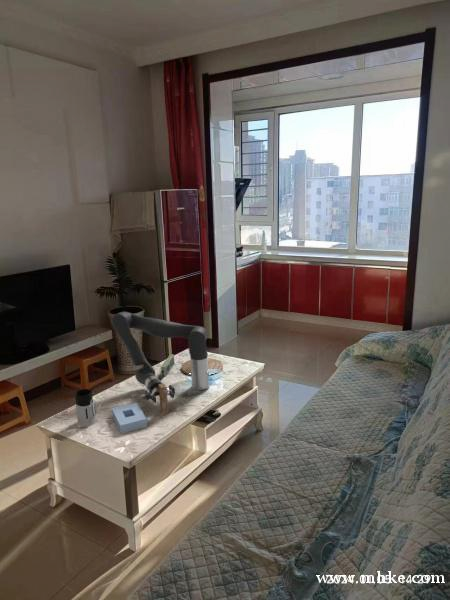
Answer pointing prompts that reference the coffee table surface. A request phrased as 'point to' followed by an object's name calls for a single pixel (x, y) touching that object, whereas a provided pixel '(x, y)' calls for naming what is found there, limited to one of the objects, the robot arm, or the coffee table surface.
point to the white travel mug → (85, 408)
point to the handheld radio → (167, 366)
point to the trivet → (211, 365)
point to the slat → (163, 398)
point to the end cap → (129, 417)
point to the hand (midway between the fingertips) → (164, 398)
